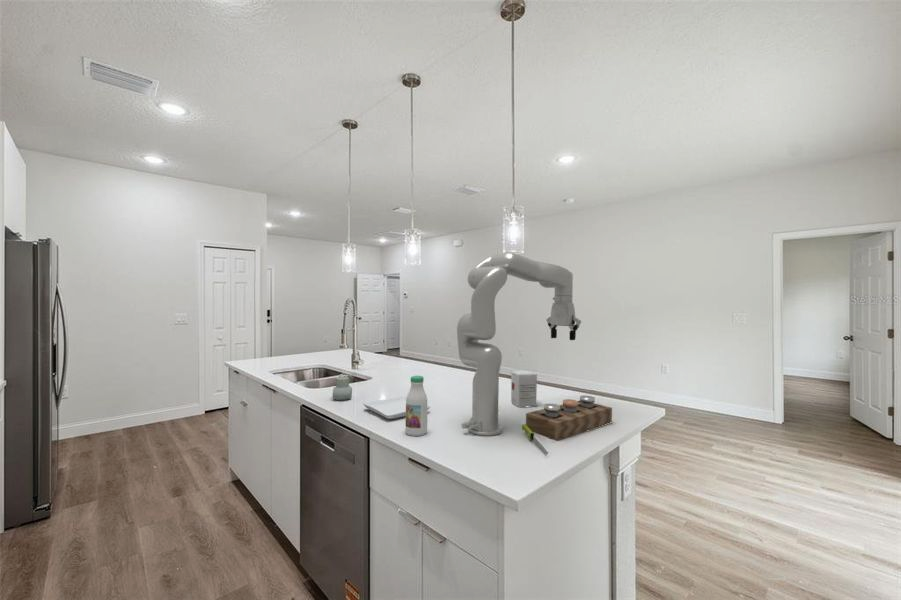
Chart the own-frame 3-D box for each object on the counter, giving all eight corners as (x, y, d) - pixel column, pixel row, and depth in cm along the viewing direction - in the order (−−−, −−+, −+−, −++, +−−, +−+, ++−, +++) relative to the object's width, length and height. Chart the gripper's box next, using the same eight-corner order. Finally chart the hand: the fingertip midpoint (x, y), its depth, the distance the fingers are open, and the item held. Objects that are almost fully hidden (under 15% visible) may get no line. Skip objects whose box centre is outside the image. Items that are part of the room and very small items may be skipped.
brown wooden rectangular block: (557, 440, 130) (557, 423, 130) (525, 429, 142) (526, 413, 142) (611, 422, 151) (611, 407, 151) (580, 414, 162) (580, 400, 162)
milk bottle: (417, 427, 142) (418, 373, 142) (431, 433, 136) (432, 376, 137) (401, 432, 137) (401, 376, 137) (414, 438, 131) (415, 379, 131)
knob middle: (572, 420, 142) (572, 403, 142) (559, 416, 147) (559, 400, 147) (581, 417, 146) (581, 401, 146) (568, 413, 150) (568, 398, 150)
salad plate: (431, 413, 161) (431, 405, 161) (387, 423, 147) (388, 414, 147) (404, 403, 177) (404, 395, 177) (362, 411, 164) (362, 403, 164)
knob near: (553, 425, 136) (553, 408, 136) (540, 421, 140) (540, 405, 140) (562, 422, 139) (563, 406, 139) (550, 418, 143) (550, 402, 143)
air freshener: (350, 401, 178) (350, 380, 178) (332, 402, 176) (332, 380, 176) (352, 395, 188) (352, 375, 188) (334, 396, 187) (334, 375, 187)
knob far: (589, 415, 149) (589, 399, 149) (576, 411, 153) (577, 396, 153) (597, 412, 152) (597, 397, 152) (585, 409, 157) (585, 394, 157)
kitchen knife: (550, 461, 116) (550, 452, 116) (546, 462, 116) (546, 452, 115) (524, 431, 138) (525, 423, 138) (521, 431, 138) (521, 423, 137)
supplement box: (510, 402, 179) (510, 370, 179) (528, 401, 181) (528, 370, 181) (518, 408, 170) (518, 374, 170) (536, 407, 172) (537, 373, 172)
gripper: (542, 299, 172) (541, 337, 172) (575, 299, 158) (574, 341, 158) (552, 299, 176) (552, 337, 176) (585, 300, 163) (585, 340, 163)
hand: (562, 339), depth 167 cm, fingers open, 9 cm apart
